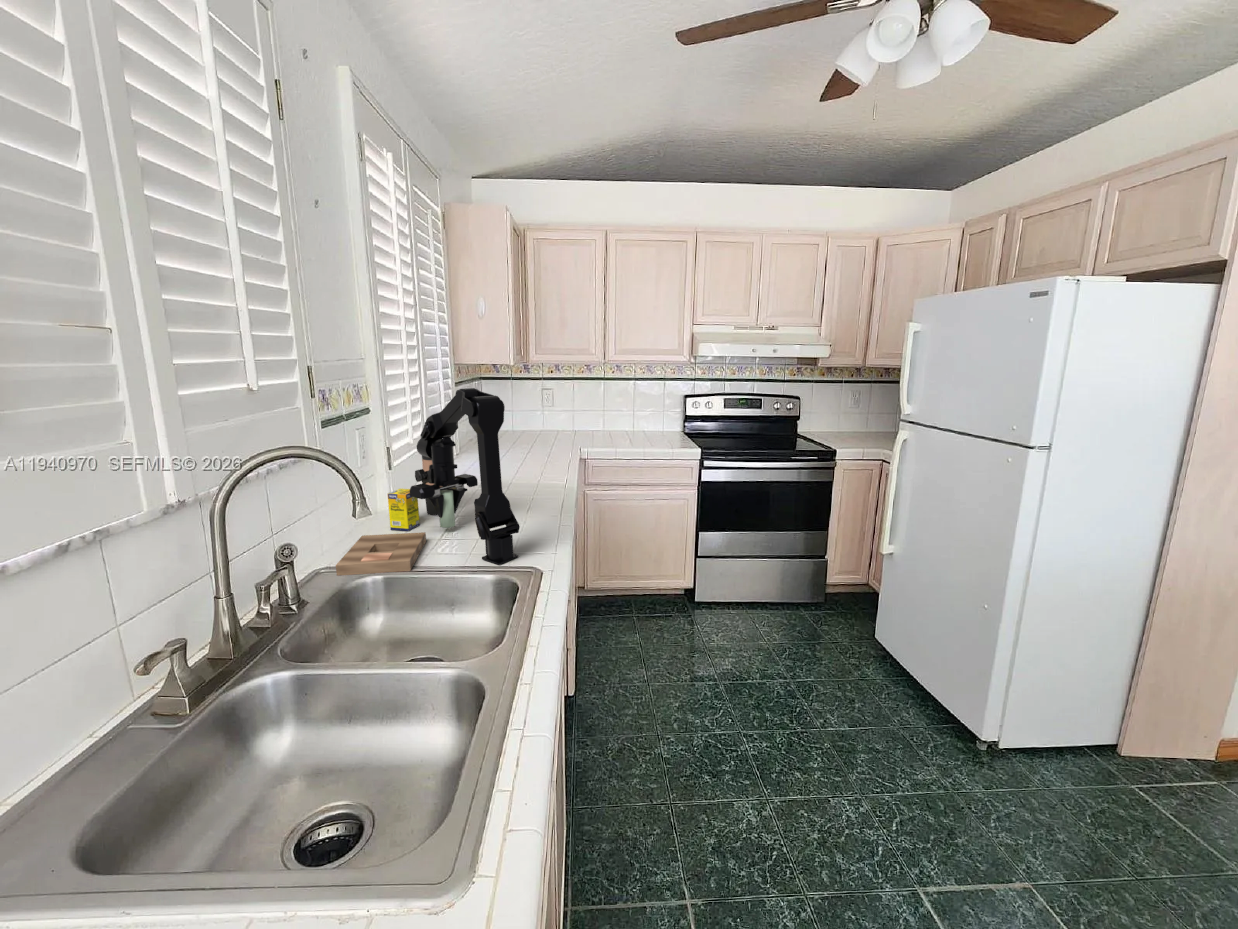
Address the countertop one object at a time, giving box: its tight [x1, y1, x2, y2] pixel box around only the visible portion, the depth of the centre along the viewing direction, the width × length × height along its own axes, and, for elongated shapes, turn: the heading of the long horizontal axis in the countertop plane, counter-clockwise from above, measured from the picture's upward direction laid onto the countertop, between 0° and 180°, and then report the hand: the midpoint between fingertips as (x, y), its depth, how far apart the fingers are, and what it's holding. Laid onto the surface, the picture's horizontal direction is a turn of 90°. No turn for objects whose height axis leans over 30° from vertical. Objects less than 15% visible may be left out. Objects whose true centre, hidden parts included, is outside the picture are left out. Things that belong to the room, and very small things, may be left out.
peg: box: [439, 490, 456, 529], centre depth 149 cm, size 4×4×10 cm
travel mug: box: [421, 455, 447, 516], centre depth 166 cm, size 8×8×20 cm
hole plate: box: [335, 531, 427, 577], centre depth 132 cm, size 20×16×3 cm
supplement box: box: [387, 488, 421, 532], centre depth 153 cm, size 6×6×11 cm
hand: (446, 515), depth 149 cm, fingers closed on peg, 4 cm apart
